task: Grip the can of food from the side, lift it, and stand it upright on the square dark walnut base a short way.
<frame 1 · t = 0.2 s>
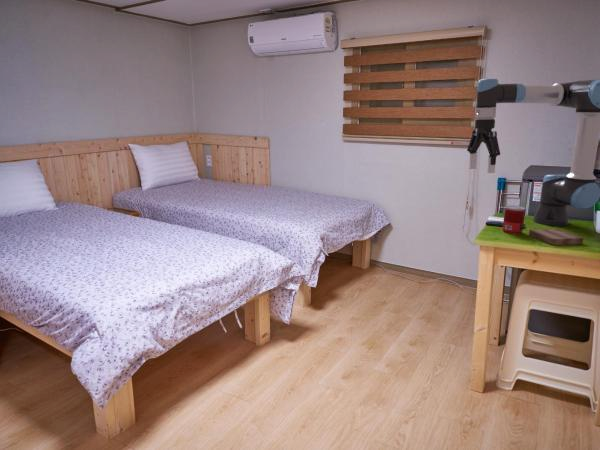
hand: (481, 170, 192), 27 cm above the table, tool pointing down, fingers open, 13 cm apart
canned food: (512, 232, 202), on the table
walnut base: (554, 239, 191), on the table
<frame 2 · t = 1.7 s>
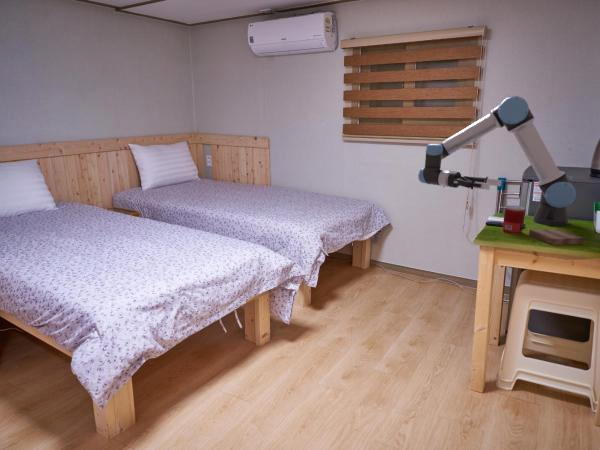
hand: (495, 184, 204), 20 cm above the table, tool horizontal, fingers open, 13 cm apart
nothing on the table moved.
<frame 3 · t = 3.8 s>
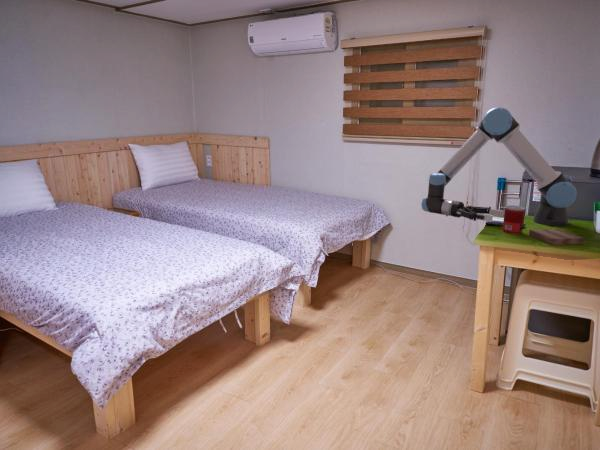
hand: (498, 216, 205), 6 cm above the table, tool horizontal, fingers open, 13 cm apart
nothing on the table moved.
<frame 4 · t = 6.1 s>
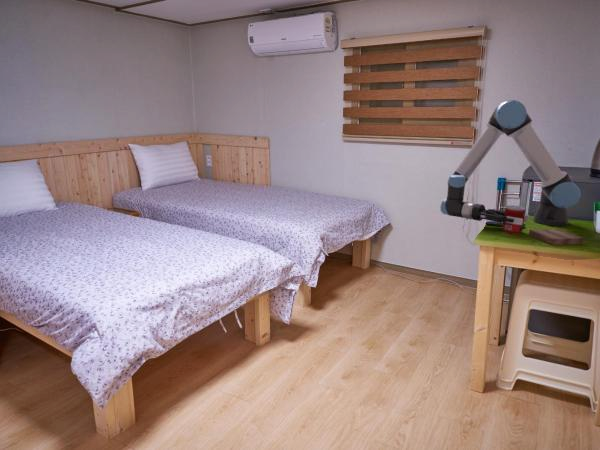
hand: (525, 220, 197), 6 cm above the table, tool horizontal, fingers closed on canned food, 8 cm apart
canned food: (512, 232, 202), on the table, touching gripper
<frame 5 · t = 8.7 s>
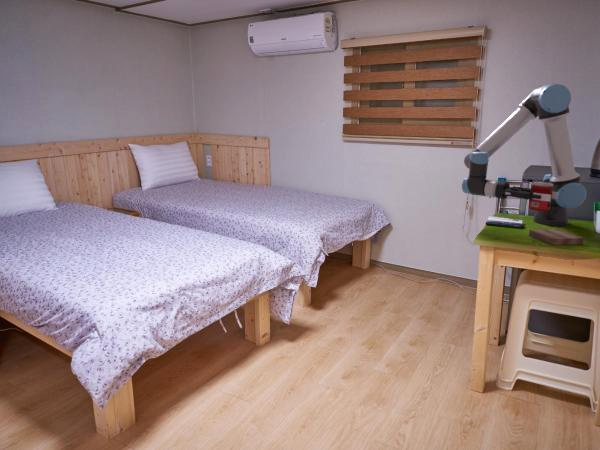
hand: (553, 196, 187), 18 cm above the table, tool horizontal, fingers closed on canned food, 8 cm apart
canned food: (538, 209, 192), point 12 cm above the table, touching gripper
when the fingers open (10 cm above the table, at t = 11.5 s): canned food drops 1 cm, resting on walnut base.
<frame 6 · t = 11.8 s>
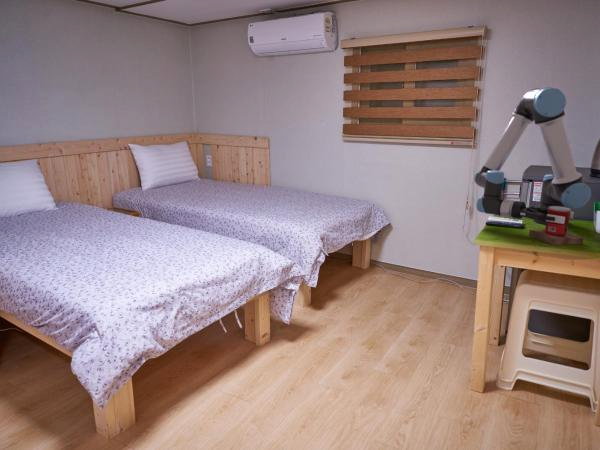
hand: (568, 217, 186), 10 cm above the table, tool horizontal, fingers open, 11 cm apart
canned food: (555, 234, 190), point 2 cm above the table, touching walnut base
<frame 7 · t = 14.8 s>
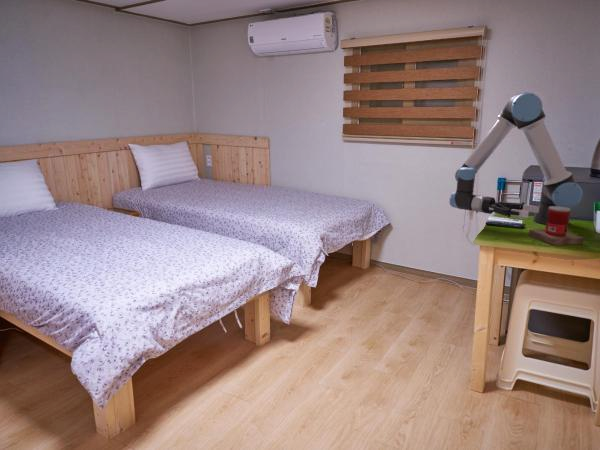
hand: (533, 212, 195), 10 cm above the table, tool horizontal, fingers open, 13 cm apart
nothing on the table moved.
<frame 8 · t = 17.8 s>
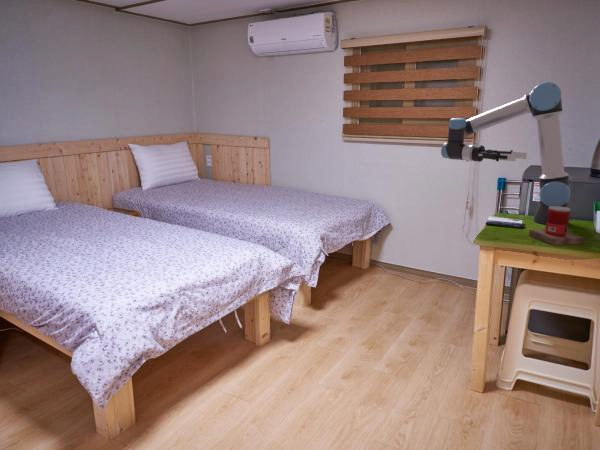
hand: (521, 156, 202), 32 cm above the table, tool horizontal, fingers open, 13 cm apart
nothing on the table moved.
at the end: canned food inside the target area on the walnut base (0.1 cm from its centre), point 2.3 cm above the walnut base's base; canned food tilted 0°; the gripper is holding nothing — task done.
